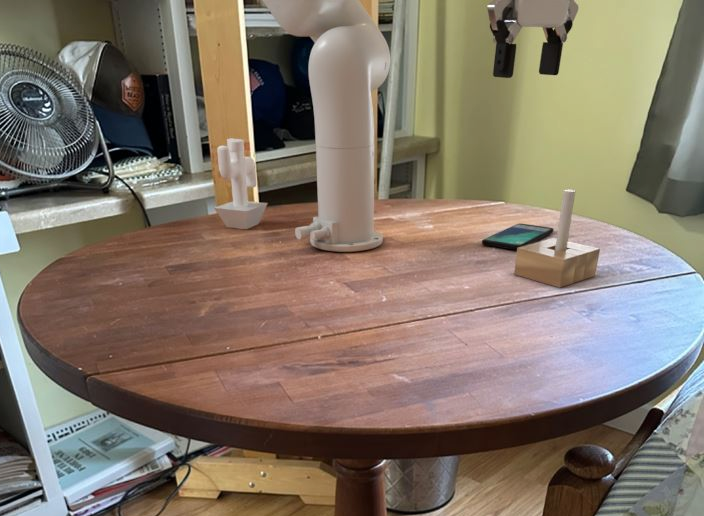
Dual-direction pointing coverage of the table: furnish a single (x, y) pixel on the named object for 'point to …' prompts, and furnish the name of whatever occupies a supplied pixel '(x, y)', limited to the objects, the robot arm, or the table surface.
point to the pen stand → (556, 262)
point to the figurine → (238, 186)
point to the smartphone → (517, 236)
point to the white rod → (565, 220)
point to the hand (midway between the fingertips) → (525, 75)
